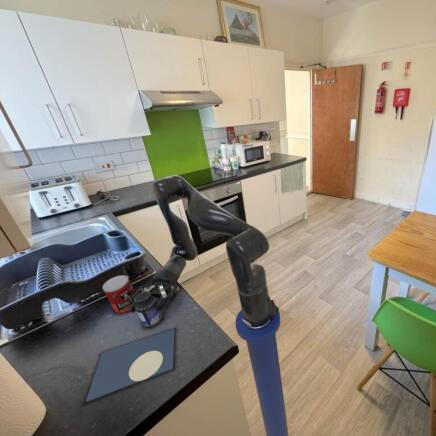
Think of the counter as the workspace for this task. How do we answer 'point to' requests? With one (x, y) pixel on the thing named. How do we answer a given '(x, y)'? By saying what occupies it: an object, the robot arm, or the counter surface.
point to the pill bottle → (147, 309)
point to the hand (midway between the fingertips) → (144, 310)
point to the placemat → (133, 363)
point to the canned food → (119, 293)
